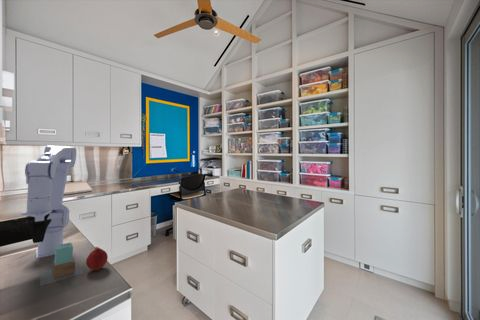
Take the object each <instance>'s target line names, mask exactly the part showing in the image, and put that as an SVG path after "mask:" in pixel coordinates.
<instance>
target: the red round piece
mask: <svg viewBox="0 0 480 320" xmlns="http://www.w3.org/2000/svg"><path fill="white" fill-rule="evenodd" d="M108 258H109V257H108V253H107V252H106V251H105V250H104V249H103V248H100V247H99V246H95V247H94V249H93V250H92V251H91V252H90V253H89V254H88V255H87V257H86V261H85V263H86V266H87V268H88V269H90V270H93V271H94V272H96V271H99V270H100V269H102V268H103V267H104V266H105V265H106V263H107V262H108Z"/></svg>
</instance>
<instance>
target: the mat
mask: <svg viewBox="0 0 480 320" xmlns="http://www.w3.org/2000/svg"><path fill="white" fill-rule="evenodd" d="M38 274H39V275H38V276H39V284H40V286H39V287H42V286H45V285H50V284H53V283H55V282H60V281H63V280H67V279H69V278H70V279H71V278H73V277H76V276H79V275H82V274H85V273H84V271H83V268H82V266H81V264H80V262H79V261H76V262H75V272H74V273H71V274H67V275H64V276H60V277H57V278H54V277H53V268H49V269H46V270H43V271H39V273H38Z"/></svg>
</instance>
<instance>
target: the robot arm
mask: <svg viewBox="0 0 480 320" xmlns="http://www.w3.org/2000/svg"><path fill="white" fill-rule="evenodd" d="M76 160H77V147H75V146H68V145H67V146H66V145H65V146H64V145H50V144H48V145H46V146H45V147H44V153H43V154H42V155H40V156H39V157H38V158H37V159H35V160H31V161H30V162H27V163H26V164H25V167H24V175H25V178H26V179H25V183H26V185H27V199H26V211H21V213H20V214H21V216H26V218H27V220H26V226H28V229H29V231H30V234H31V239H32V242H33V244H36V243H37V249H35V258H36V259H40V258H45V257H49V256H53V255H54V256H55V246H56V245H61V244H64V229H65V228H67V227H68V225H69V224H70V223H69V221H70V209H69V207H67V206H66V205H64V204H63V200H64V195H65V189H66V183H67V178H68V173H69V170H70V169H71V168H73V167H75V164H76Z"/></svg>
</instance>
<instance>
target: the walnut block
mask: <svg viewBox="0 0 480 320" xmlns="http://www.w3.org/2000/svg"><path fill="white" fill-rule="evenodd" d="M75 263H76V260H75V258H74V256H73V255H72V262H69V263H65V264H61V265H57V266H56V265H55V260H52V269H53V277H54V278H57V277H60V276H64V275H67V274H71V273H74V272H75Z"/></svg>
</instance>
